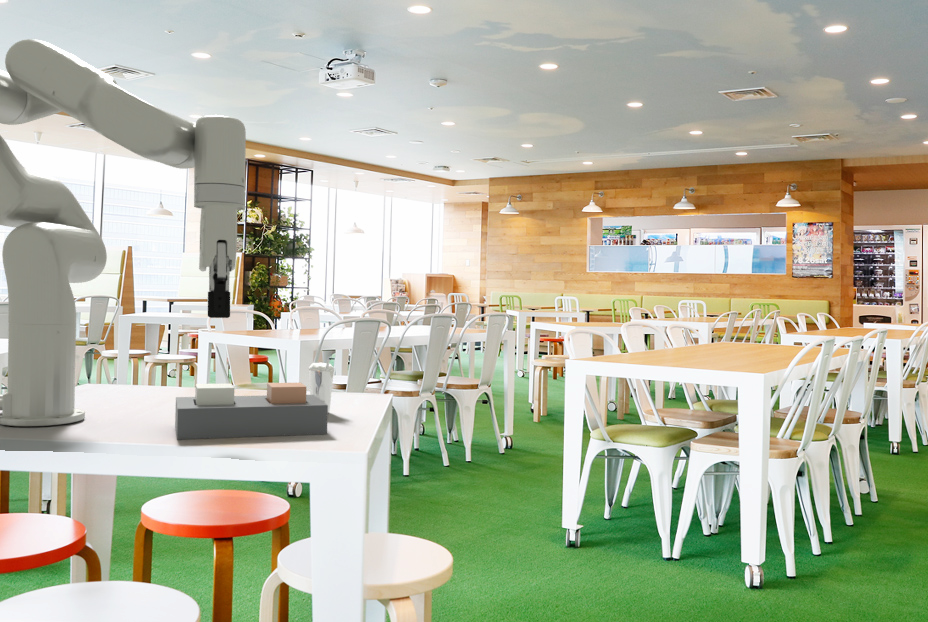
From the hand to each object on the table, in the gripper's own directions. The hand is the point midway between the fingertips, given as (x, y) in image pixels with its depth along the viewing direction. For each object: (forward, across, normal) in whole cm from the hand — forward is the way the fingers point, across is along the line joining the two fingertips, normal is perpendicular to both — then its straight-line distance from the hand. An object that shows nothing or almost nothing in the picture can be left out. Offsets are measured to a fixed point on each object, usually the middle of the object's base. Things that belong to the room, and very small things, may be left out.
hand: (218, 317), depth 122 cm
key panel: (+18, 0, +5) cm, 18 cm away
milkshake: (+18, -14, +19) cm, 30 cm away
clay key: (+15, 0, +10) cm, 18 cm away
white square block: (+15, 0, -1) cm, 15 cm away
